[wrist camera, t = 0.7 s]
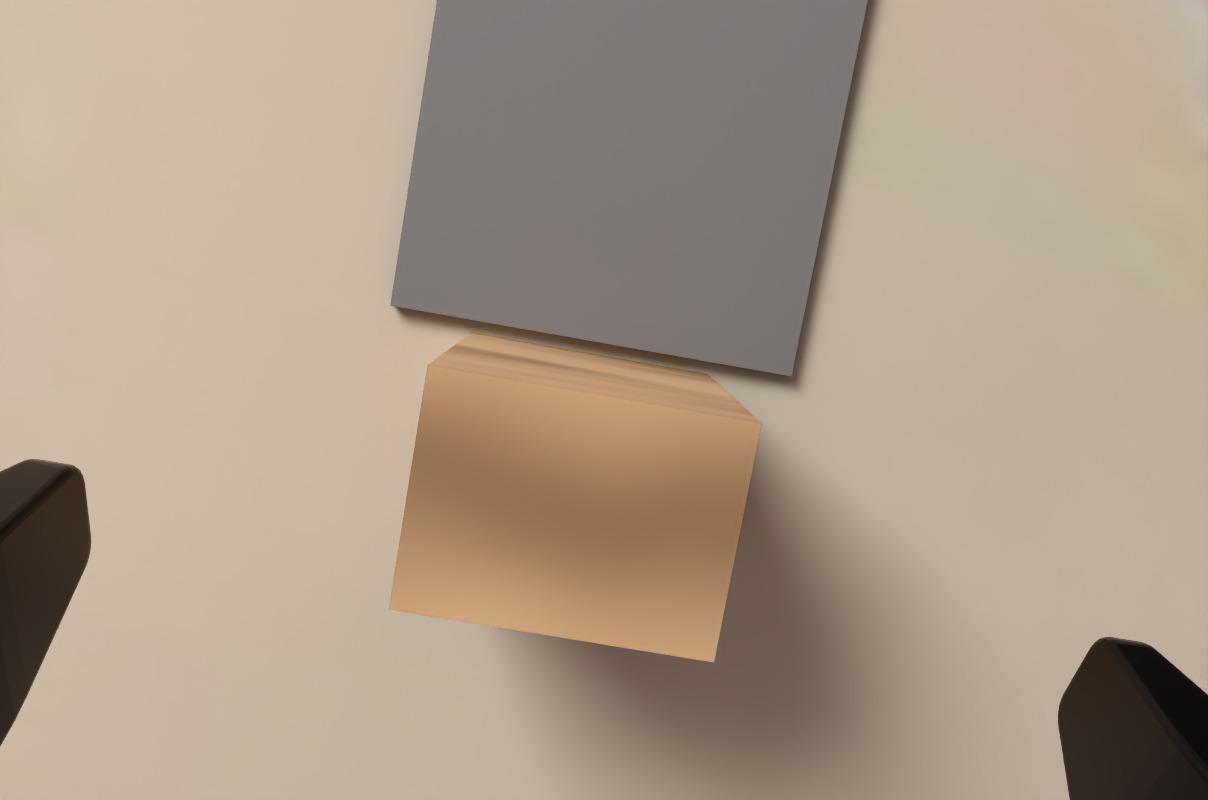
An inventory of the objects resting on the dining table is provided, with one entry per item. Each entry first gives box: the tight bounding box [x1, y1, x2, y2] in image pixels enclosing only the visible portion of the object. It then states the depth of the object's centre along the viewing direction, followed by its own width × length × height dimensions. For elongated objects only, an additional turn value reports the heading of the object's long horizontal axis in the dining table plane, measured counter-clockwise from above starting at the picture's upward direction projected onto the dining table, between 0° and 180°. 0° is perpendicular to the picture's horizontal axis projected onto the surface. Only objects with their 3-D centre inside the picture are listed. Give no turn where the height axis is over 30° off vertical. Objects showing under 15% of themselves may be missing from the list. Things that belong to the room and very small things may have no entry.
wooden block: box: [389, 333, 762, 662], centre depth 23 cm, size 4×6×8 cm
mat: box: [390, 0, 868, 376], centre depth 26 cm, size 10×10×1 cm
